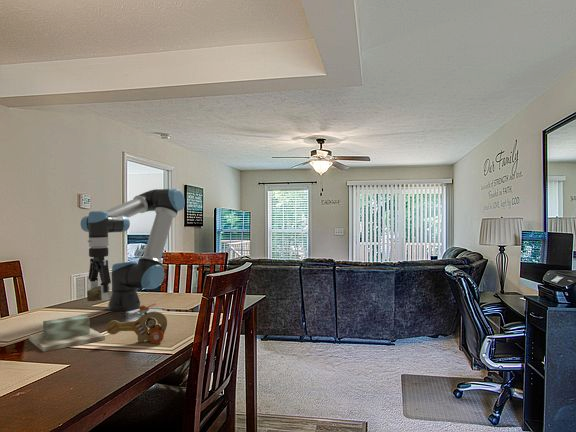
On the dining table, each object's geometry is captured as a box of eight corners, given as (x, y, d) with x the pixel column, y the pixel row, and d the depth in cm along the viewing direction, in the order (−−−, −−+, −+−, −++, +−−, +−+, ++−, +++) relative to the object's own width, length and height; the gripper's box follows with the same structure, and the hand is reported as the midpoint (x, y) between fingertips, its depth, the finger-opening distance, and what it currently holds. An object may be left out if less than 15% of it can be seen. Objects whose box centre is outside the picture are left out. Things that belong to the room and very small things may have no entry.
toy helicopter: (166, 343, 147) (166, 304, 147) (103, 347, 142) (103, 307, 143) (167, 337, 155) (167, 300, 155) (108, 340, 150) (108, 303, 150)
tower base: (86, 329, 166) (86, 310, 166) (104, 339, 152) (104, 319, 152) (28, 339, 152) (28, 319, 152) (43, 351, 138) (43, 329, 138)
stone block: (110, 296, 182) (109, 285, 182) (100, 302, 170) (100, 290, 170) (96, 296, 181) (96, 285, 181) (86, 302, 170) (86, 290, 170)
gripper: (79, 246, 182) (80, 295, 182) (99, 249, 165) (100, 303, 165) (97, 245, 187) (98, 293, 187) (118, 248, 170) (119, 300, 170)
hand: (99, 298), depth 176 cm, fingers closed on stone block, 12 cm apart
